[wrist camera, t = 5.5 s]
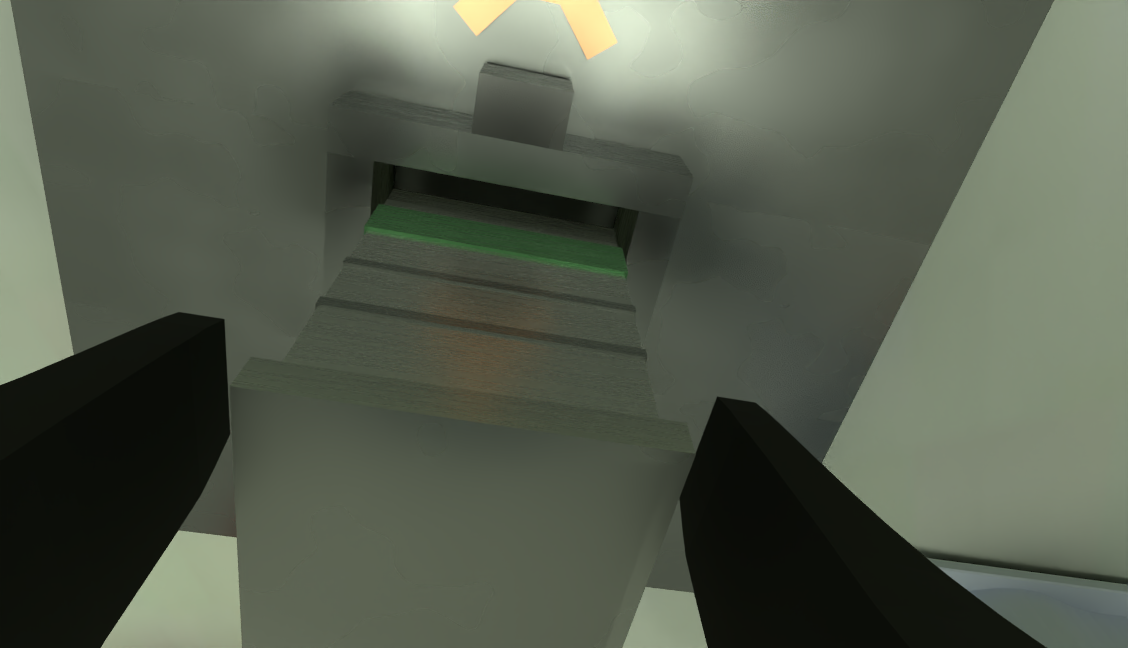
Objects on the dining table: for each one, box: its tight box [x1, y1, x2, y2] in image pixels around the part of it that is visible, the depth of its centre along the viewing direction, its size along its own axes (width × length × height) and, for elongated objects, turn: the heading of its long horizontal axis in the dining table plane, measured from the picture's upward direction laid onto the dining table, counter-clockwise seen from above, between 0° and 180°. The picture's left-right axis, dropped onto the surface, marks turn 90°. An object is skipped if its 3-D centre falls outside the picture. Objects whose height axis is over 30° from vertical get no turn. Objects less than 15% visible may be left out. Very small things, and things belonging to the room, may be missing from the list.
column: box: [230, 189, 696, 648], centre depth 10 cm, size 4×4×6 cm
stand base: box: [11, 0, 1054, 592], centre depth 14 cm, size 18×18×2 cm
